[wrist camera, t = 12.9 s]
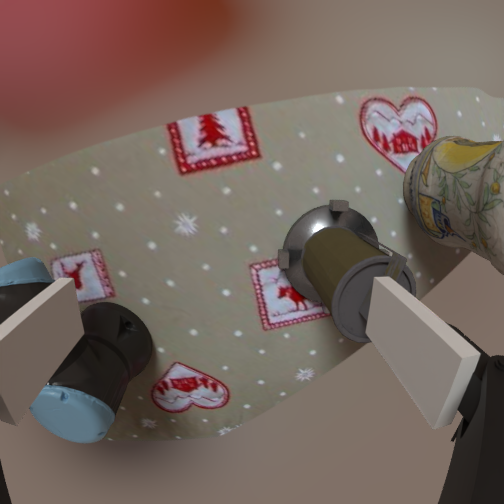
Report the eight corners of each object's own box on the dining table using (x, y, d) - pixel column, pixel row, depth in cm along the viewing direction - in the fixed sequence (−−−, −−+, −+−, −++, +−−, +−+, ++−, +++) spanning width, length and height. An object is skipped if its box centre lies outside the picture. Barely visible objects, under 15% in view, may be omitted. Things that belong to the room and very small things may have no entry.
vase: (460, 131, 47) (590, 131, 18) (472, 223, 51) (591, 270, 22) (381, 144, 47) (520, 139, 18) (399, 248, 52) (520, 324, 23)
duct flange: (274, 305, 53) (277, 315, 50) (278, 197, 49) (281, 200, 45) (373, 301, 54) (381, 310, 51) (384, 201, 49) (393, 204, 46)
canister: (346, 296, 52) (398, 363, 32) (290, 277, 50) (322, 343, 31) (374, 237, 49) (444, 278, 30) (317, 212, 48) (370, 244, 28)
